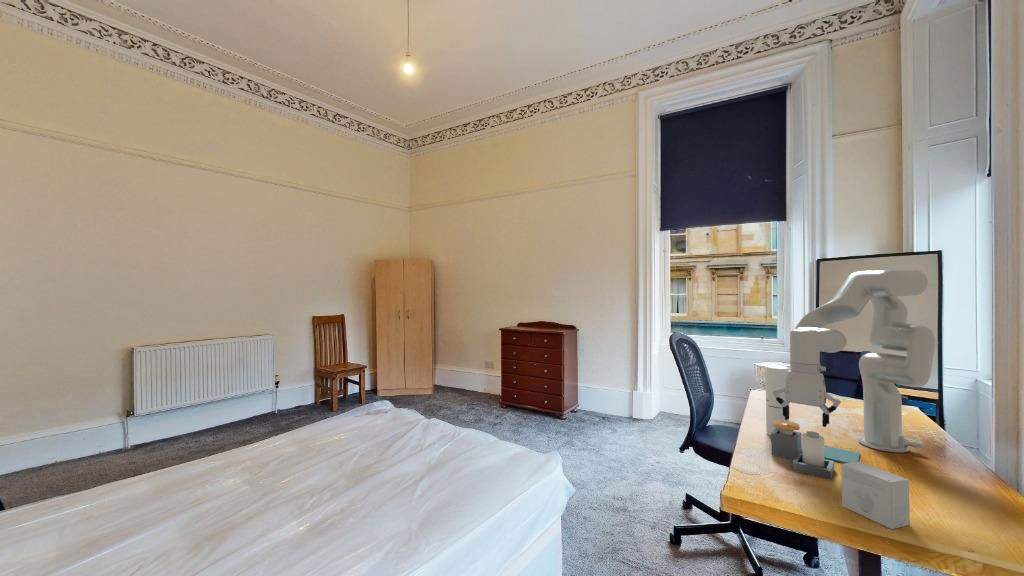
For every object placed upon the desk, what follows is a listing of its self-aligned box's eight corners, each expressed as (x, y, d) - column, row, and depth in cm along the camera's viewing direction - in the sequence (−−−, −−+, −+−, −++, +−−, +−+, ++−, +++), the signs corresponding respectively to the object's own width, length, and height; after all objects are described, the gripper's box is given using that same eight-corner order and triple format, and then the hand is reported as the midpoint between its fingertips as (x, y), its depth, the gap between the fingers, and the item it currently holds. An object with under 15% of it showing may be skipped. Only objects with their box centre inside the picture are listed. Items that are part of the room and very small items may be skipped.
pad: (860, 454, 127) (860, 452, 127) (857, 466, 118) (857, 464, 118) (806, 443, 137) (806, 441, 137) (800, 453, 128) (800, 451, 128)
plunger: (801, 438, 128) (801, 423, 128) (797, 444, 123) (797, 428, 123) (776, 433, 133) (775, 418, 133) (771, 439, 128) (771, 423, 128)
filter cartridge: (825, 470, 116) (825, 432, 116) (823, 476, 113) (822, 437, 113) (804, 464, 120) (803, 428, 120) (801, 470, 116) (800, 433, 116)
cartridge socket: (834, 469, 116) (834, 461, 116) (830, 480, 110) (830, 471, 110) (798, 461, 123) (798, 453, 123) (792, 470, 116) (792, 461, 116)
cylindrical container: (782, 431, 149) (781, 365, 149) (794, 438, 141) (792, 369, 142) (762, 430, 149) (761, 365, 150) (773, 437, 142) (772, 368, 142)
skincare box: (911, 525, 89) (910, 478, 89) (892, 530, 87) (891, 482, 87) (859, 501, 99) (858, 459, 99) (840, 505, 97) (840, 463, 97)
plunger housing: (801, 454, 128) (801, 432, 128) (797, 460, 123) (797, 438, 123) (776, 448, 133) (776, 427, 133) (771, 454, 128) (771, 432, 128)
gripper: (841, 370, 121) (842, 426, 121) (775, 363, 133) (775, 413, 133) (838, 373, 116) (839, 432, 115) (770, 366, 128) (770, 418, 127)
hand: (805, 422), depth 124 cm, fingers open, 9 cm apart
